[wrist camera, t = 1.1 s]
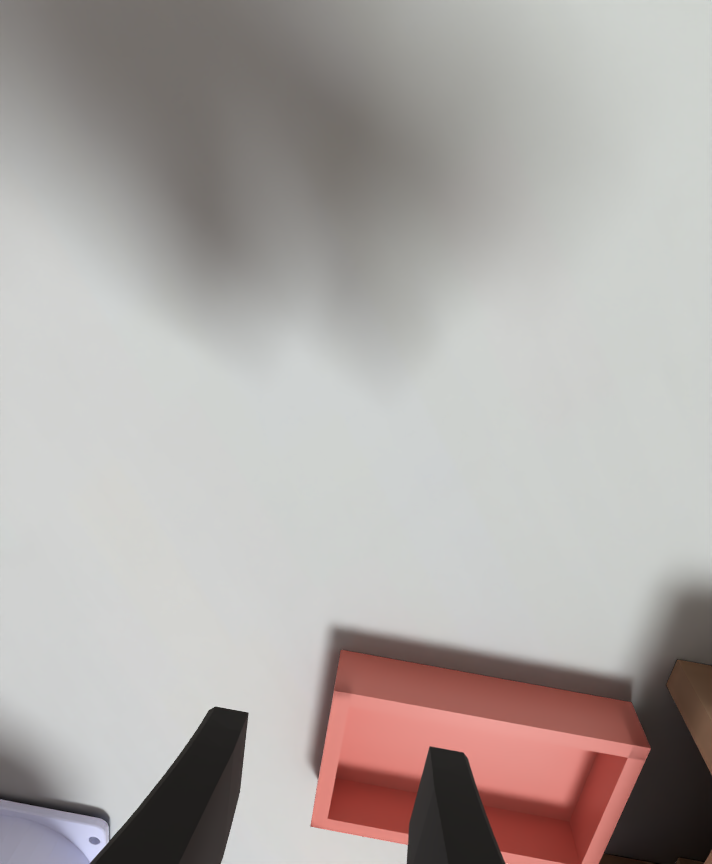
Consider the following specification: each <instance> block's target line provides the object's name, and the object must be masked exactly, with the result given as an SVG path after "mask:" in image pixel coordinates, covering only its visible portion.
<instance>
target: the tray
mask: <svg viewBox="0 0 712 864" xmlns="http://www.w3.org/2000/svg"><path fill="white" fill-rule="evenodd" d="M430 746H431V747H437V748H442V749H448V750H453V751H458V752H464V754H465V755H466V756H467V758H468V760H469V764H470V767H471V770H472V774H473V777H474V780H475V783H476V786H477V789H478V792H479V795H480V798H481V801H482V804H483V806H484V809H485V812H486V815H487V817H488V820H489V823H490V826H491V828H492V831H493V834H494V836H495V839H496V841H497V844H498V846H499V849H500V851H501V854H502V856H503V859H504V861H505V863H506V864H599V862H600V860H601V858H602V855H603V853H604V851H605V849H606V847H607V844H608V842H609V840H610V838H611V836H612V833H613V831H614V829H615V827H616V825H617V822H618V820H619V818H620V816H621V814H622V811H623V809H624V807H625V805H626V802H627V800H628V798H629V796H630V794H631V791H632V789H633V787H634V785H635V783H636V780H637V778H638V776H639V774H640V772H641V769H642V767H643V765H644V763H645V761H646V758H647V756H648V754H649V752H650V750H651V747H650V745H649V743H648V740H647V738H646V735H645V733H644V731H643V728H642V726H641V724H640V721H639V719H638V716H637V714H636V712H635V709H634V707H633V705H632V702H627V701H622V700H616V699H611V698H605V697H600V696H594V695H589V694H583V693H578V692H572V691H567V690H561V689H556V688H550V687H545V686H539V685H534V684H528V683H523V682H517V681H512V680H506V679H500V678H495V677H489V676H484V675H478V674H473V673H467V672H462V671H456V670H451V669H445V668H440V667H434V666H429V665H423V664H418V663H412V662H407V661H401V660H396V659H390V658H385V657H379V656H374V655H368V654H362V653H357V652H351V651H346V650H341V652H340V658H339V663H338V669H337V675H336V680H335V686H334V692H333V697H332V703H331V709H330V715H329V720H328V726H327V732H326V737H325V743H324V749H323V755H322V760H321V766H320V772H319V777H318V783H317V789H316V796H315V802H314V808H313V814H312V820H311V827H316V828H321V829H327V830H332V831H337V832H342V833H348V834H353V835H358V836H364V837H369V838H374V839H379V840H385V841H390V842H395V843H401V844H406V845H408V834H409V822H410V819H411V815H412V811H413V807H414V803H415V800H416V796H417V792H418V788H419V784H420V781H421V777H422V773H423V769H424V765H425V762H426V758H427V754H428V750H429V747H430Z"/></svg>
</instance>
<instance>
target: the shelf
mask: <svg viewBox="0 0 712 864" xmlns="http://www.w3.org/2000/svg"><path fill="white" fill-rule="evenodd" d="M666 686H667V688H668V690H669V692H670V694H671V696H672V698H673V700H674V702H675V704H676V706H677V708H678V710H679V712H680V714H681V716H682V718H683V719H684V721H685V723H686V725H687V727H688V729H689V731H690V733H691V735H692V737H693V739H694V741H695V743H696V745H697V747H698V749H699V751H700V753H701V755H702V757H703V759H704V761H705V763H706V765H707V767H708V769H709V771H710V773H711V775H712V666H711V665H705V664H700V663H694V662H688V661H683V660H677V661H676V664H675V666H674V668H673V670H672V673H671V675H670V677H669V680H668V682H667V684H666ZM599 864H656V863H651V862H645V861H640V860H635V859H629V858H624V857H619V856H613V855H608V854H603V855H602V858H601V860H600V862H599ZM675 864H712V850H711V852H710V854H709V856H708V857H707V859H706V861H705V862H700V861H695V860H690V859H684V858H678V859H677V861H676V863H675Z"/></svg>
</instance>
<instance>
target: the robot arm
mask: <svg viewBox="0 0 712 864" xmlns="http://www.w3.org/2000/svg"><path fill="white" fill-rule="evenodd" d="M247 721H248V713H247V712H242V711H236V710H231V709H226V708H220V707H214V708H212V709H210V710H209V711H208V713H207V714H206V716H205V718H204V719H203V721H202V723H201V724H200V726H199V727H198V729H197V730H196V732H195V733H194V735H193V736H192V738H191V739H190V741H189V742H188V743H187V745H186V746H185V748H184V749H183V750H182V752H181V753H180V755H179V756H178V757H177V759H176V760H175V761H174V763H173V764H172V765H171V767H170V768H169V769H168V771H167V772H166V773H165V775H164V776H163V777H162V779H161V780H160V781H159V782H158V784H157V785H156V786H155V787H154V789H153V790H152V791H151V792H150V794H149V795H148V796H147V797H146V799H145V800H144V801H143V802H142V804H141V805H140V806H139V807H138V809H137V810H136V811H135V812H134V813H133V815H132V816H131V817H130V818H129V819H128V821H127V822H126V823H125V824H124V825H123V826H122V827H121V829H120V830H119V831H118V832H117V833H116V834H115V835H114V836H113V838H112V839H111V840H110V841H109V827H108V824H107V823H106V821H104V820H103V819H100V818H96V817H91V816H86V815H80V814H75V813H70V812H65V811H59V810H54V809H49V808H44V807H38V806H33V805H28V804H23V803H17V802H12V801H7V800H2V799H0V864H221V861H222V858H223V855H224V851H225V848H226V844H227V840H228V836H229V832H230V829H231V825H232V821H233V817H234V813H235V809H236V805H237V801H238V797H239V793H240V786H241V777H242V767H243V758H244V749H245V740H246V731H247ZM407 864H506V863H505V861H504V859H503V856H502V854H501V851H500V849H499V846H498V844H497V841H496V839H495V836H494V834H493V831H492V828H491V826H490V823H489V820H488V817H487V815H486V812H485V809H484V806H483V804H482V801H481V798H480V795H479V792H478V789H477V786H476V783H475V780H474V777H473V774H472V770H471V767H470V764H469V760H468V758H467V756H466V755H465V754H464V752H458V751H453V750H448V749H442V748H437V747H431V746H430V747H429V750H428V754H427V758H426V762H425V765H424V769H423V773H422V777H421V781H420V784H419V788H418V792H417V796H416V800H415V803H414V807H413V811H412V815H411V819H410V822H409V834H408V853H407Z"/></svg>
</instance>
